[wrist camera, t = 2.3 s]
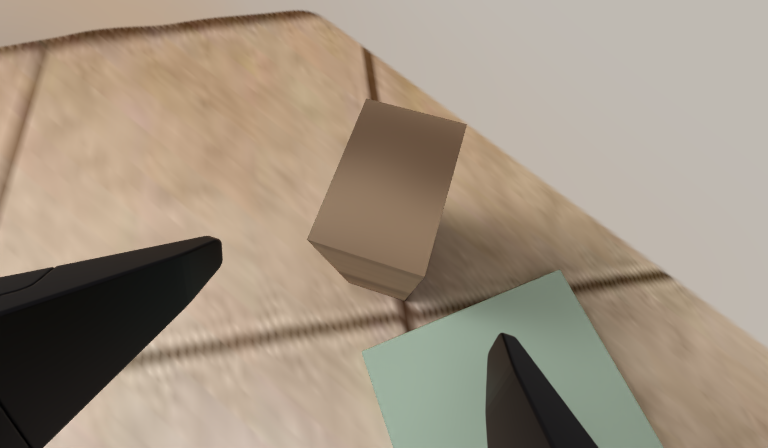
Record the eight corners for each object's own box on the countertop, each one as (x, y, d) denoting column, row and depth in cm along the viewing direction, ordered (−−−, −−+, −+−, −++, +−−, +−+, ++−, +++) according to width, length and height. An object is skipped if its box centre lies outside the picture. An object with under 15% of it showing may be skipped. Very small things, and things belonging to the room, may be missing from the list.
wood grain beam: (404, 300, 20) (424, 276, 9) (348, 282, 20) (307, 239, 10) (427, 220, 21) (466, 124, 11) (376, 205, 22) (366, 98, 11)
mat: (433, 563, 15) (435, 576, 14) (362, 350, 19) (361, 352, 18) (655, 449, 17) (668, 455, 16) (553, 271, 20) (559, 269, 19)
